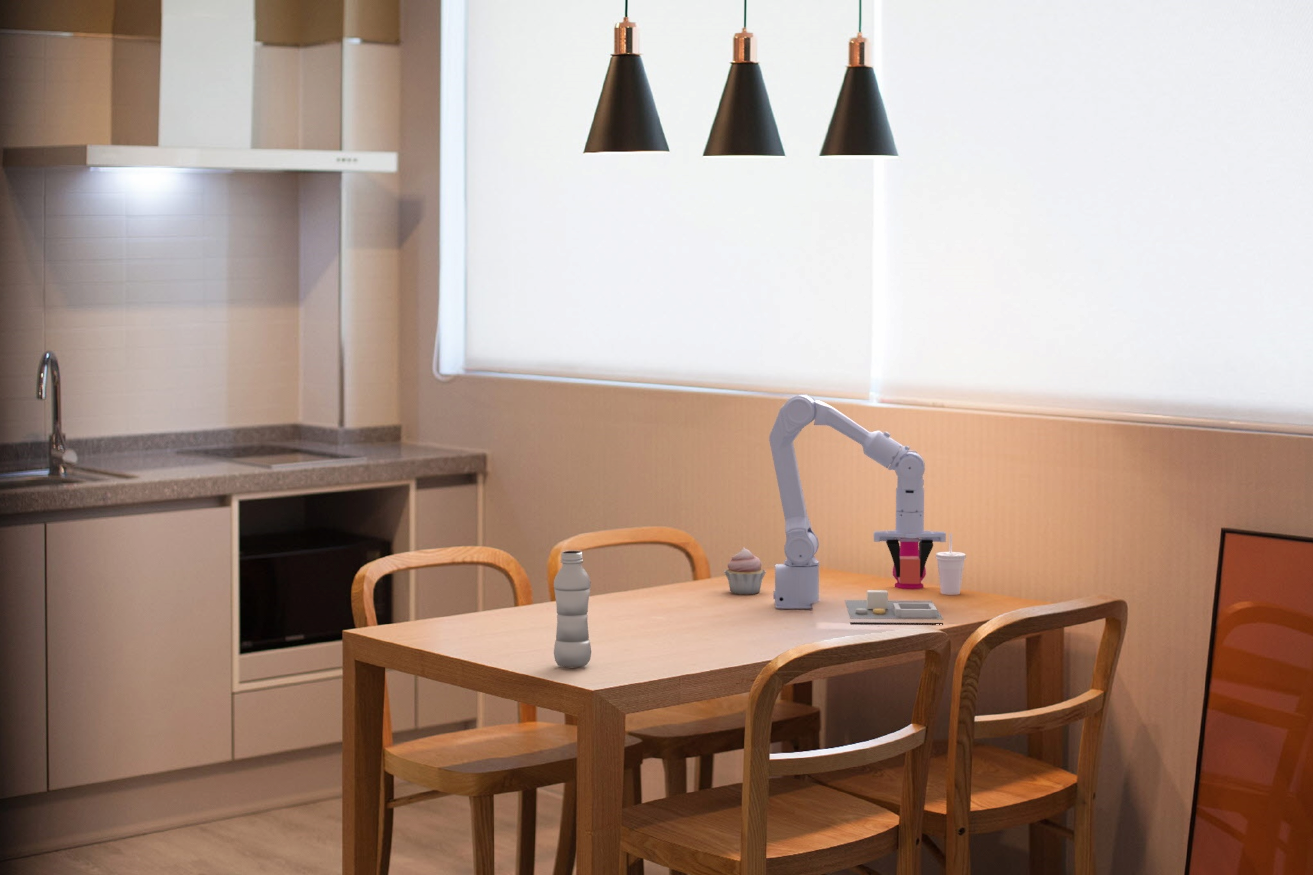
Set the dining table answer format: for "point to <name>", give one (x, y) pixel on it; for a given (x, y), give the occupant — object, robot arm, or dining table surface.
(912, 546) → the pepper mill
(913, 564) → the cap
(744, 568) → the cupcake
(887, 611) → the panel
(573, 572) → the plastic bottle
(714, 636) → the dining table surface
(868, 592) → the block
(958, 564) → the smoothie
